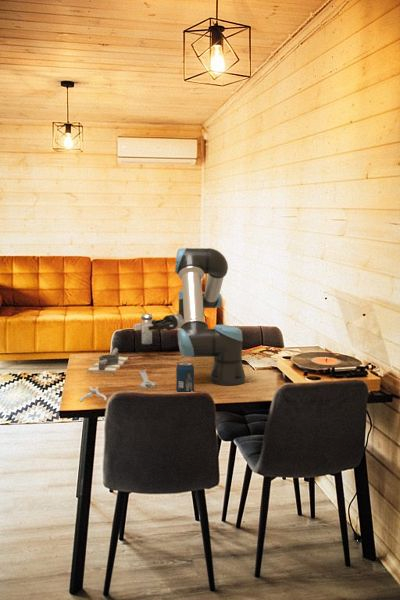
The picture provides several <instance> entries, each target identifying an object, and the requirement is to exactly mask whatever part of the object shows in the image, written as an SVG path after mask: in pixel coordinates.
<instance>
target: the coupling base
mask: <svg viewBox="0 0 400 600" xmlns="http://www.w3.org/2000/svg"><path fill="white" fill-rule="evenodd" d="M118 351H119V349H118V347H115V348H114V349H113V350H112V352H111V353H110V354H104V355H100V356H99V359H98V360H97V362H95V363H94V364H92V365H91V366H90V367H89V368H88V369H87V371H86V372H87V373H91V372H93V373H94V374H112V375H113V374H115V373H117V371H119V369H120V368H121V367H122V366H123V365H125V363H126V362H128V360H129V359H130V358H129V356H119V352H118ZM93 373H92V374H93Z"/></svg>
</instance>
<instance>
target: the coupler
mask: <svg viewBox="0 0 400 600" xmlns="http://www.w3.org/2000/svg"><path fill="white" fill-rule="evenodd" d="M140 318H141V323H142V326H146V325H152V320H153V314H152V313H142V314H141V317H140ZM141 344H142V345H151V344H153V330H151V331H146V332H142V331H141Z"/></svg>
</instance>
